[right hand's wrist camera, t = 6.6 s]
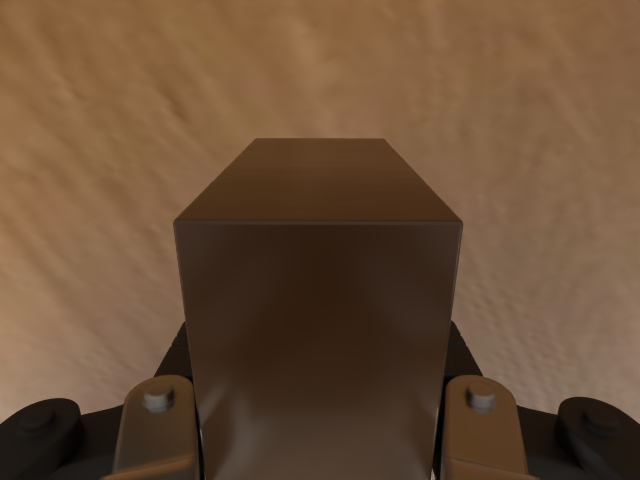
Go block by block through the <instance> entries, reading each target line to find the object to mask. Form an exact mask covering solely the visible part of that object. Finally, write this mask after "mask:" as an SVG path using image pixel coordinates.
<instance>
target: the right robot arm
mask: <svg viewBox="0 0 640 480" xmlns="http://www.w3.org/2000/svg"><path fill="white" fill-rule="evenodd" d="M432 469H433V472H434V475H435V479H434V480H640V424H639V423H638V422H636V421H635V420H634V419H632V418H631V417H630V416H628V415H627V414H625V413H624V412H623V411H621V410H619V409H618V408H616V407H614V406H612V405H610V404H608V403H605V402H603V401H600V400H596V399H592V398H587V397H572V398H568V399H566V400H564V401H563V402H562V403H561V404H560V406H559V409H558V413H557V415H555V414H550V413H546V412H542V411H537V410H533V409H528V408H525V407H521V406H518V405H516V401H515V398H514V397H513V395H512V394H511V392H510V391H509V390H508V389H507V388H506V387H504V386H503V385H501V384H500V383H498V382H496V381H494V380H492V379H489V378H486V377H484V376H483V375H482V373H481V371H480V369H479V367H478V365H477V364H476V362H475V360H474V358H473V356H472V354H471V353H470V351H469V349H468V347H467V346H466V343H465V341H464V340H463V338H462V336H460V332H459V330H458V329H457V327H456V325H455V323H454V322H453V321H452V320H451V323H450V331H449V339H448V347H447V355H446V362H445V370H444V378H443V386H442V394H441V402H440V409H439V417H438V425H437V433H436V441H435V448H434V456H433V464H432ZM0 480H206V479H205V471H204V461H203V454H202V446H201V438H200V430H199V422H198V414H197V407H196V399H195V391H194V383H193V375H192V368H191V360H190V352H189V344H188V336H187V328H186V321H185V322H184V323H183V325H182V326H181V328H180V330H179V332H178V334H177V337H175V339H174V341H173V343H172V347H170V348H169V350H168V352H167V354H166V355H165V357H164V359H163V361H162V363H161V364H160V366H159V368H158V370H157V372H156V374H155V375H154V377H153V378H151V379H148V380H146V381H144V382H142V383H140V384H139V385H137V386H136V387H134V388H133V389H132V390H131V391H130V392H129V394H128V395H127V397H126V398H125V401H124V404H123V405H120V406H117V407H114V408H111V409H107V410H102V411H98V412H93V413H89V414H84V415H81V413H80V409H79V406H78V405H77V403H75V402H74V401H72V400H69V399H65V398H54V399H47V400H43V401H39V402H36V403H34V404H31V405H29V406H27V407H25V408H23V409H21V410H19V411H18V412H16V413H15V414H13V415H12V416H10V417H9V418H8V419H6V420H5V421H4V422H2V423H1V424H0Z"/></svg>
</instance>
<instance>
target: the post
mask: <svg viewBox="0 0 640 480" xmlns="http://www.w3.org/2000/svg"><path fill="white" fill-rule="evenodd" d="M173 227H174V235H175V242H176V250H177V258H178V266H179V274H180V282H181V289H182V297H183V305H184V313H185V321H186V328H187V336H188V344H189V352H190V360H191V368H192V375H193V383H194V391H195V399H196V407H197V414H198V422H199V430H200V438H201V446H202V454H203V461H204V469H205V477H206V480H431V472H432V464H433V456H434V448H435V441H436V433H437V425H438V417H439V409H440V402H441V394H442V386H443V378H444V370H445V362H446V355H447V347H448V339H449V331H450V323H451V316H452V308H453V300H454V292H455V284H456V276H457V269H458V261H459V253H460V245H461V237H462V230H463V222H462V220H461V219H460V218H459V217H458V216H457V215H456V214H455V213H454V212H453V211H452V210H451V209H450V208H449V207H448V206H447V205H446V204H445V203H444V201H443V200H442V199H441V198H440V197H439V196H438V195H437V194H436V193H435V192H434V191H433V190H432V189H431V188H430V187H429V186H428V185H427V184H426V183H425V181H424V180H423V179H422V178H421V177H420V176H419V175H418V174H417V173H416V172H415V171H414V170H413V169H412V168H411V167H410V166H409V165H408V164H407V163H406V162H405V160H404V159H403V158H402V157H401V156H400V155H399V154H398V153H397V152H396V151H395V150H394V149H393V148H392V147H391V146H390V145H389V144H388V143H387V142H386V141H385V139H316V138H256V139H255V140H254V141H253V142H252V143H251V144H250V145H249V146H248V147H247V148H246V149H245V150H244V151H243V152H242V153H241V154H240V155H239V156H238V157H237V158H236V159H235V160H234V161H233V162H232V163H231V164H230V165H229V166H228V167H227V168H226V169H225V170H224V171H223V172H222V173H221V174H220V175H219V176H218V177H217V178H216V179H215V180H214V181H213V182H212V183H211V184H210V185H209V186H208V187H207V188H206V189H205V190H204V191H203V192H202V193H201V194H200V195H199V196H198V197H197V198H196V199H195V200H194V201H193V202H192V203H191V204H190V205H189V206H188V207H187V208H186V209H185V210H184V211H183V212H182V213H181V214H180V215H179V216H178V217H177V218H176V219H175V220H174V222H173Z"/></svg>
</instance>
